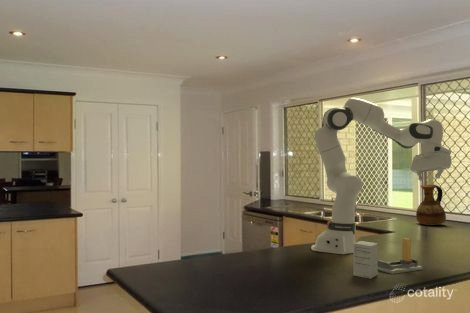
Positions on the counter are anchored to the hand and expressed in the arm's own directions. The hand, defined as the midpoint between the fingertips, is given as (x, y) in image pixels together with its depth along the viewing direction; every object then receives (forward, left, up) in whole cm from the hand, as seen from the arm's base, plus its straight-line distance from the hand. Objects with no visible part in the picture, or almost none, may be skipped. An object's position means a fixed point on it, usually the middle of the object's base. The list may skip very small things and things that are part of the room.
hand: (428, 179), depth 204 cm
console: (-15, -30, -37) cm, 50 cm away
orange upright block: (-12, -27, -36) cm, 46 cm away
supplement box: (-28, -46, -37) cm, 66 cm away
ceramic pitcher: (+18, +123, -37) cm, 130 cm away
